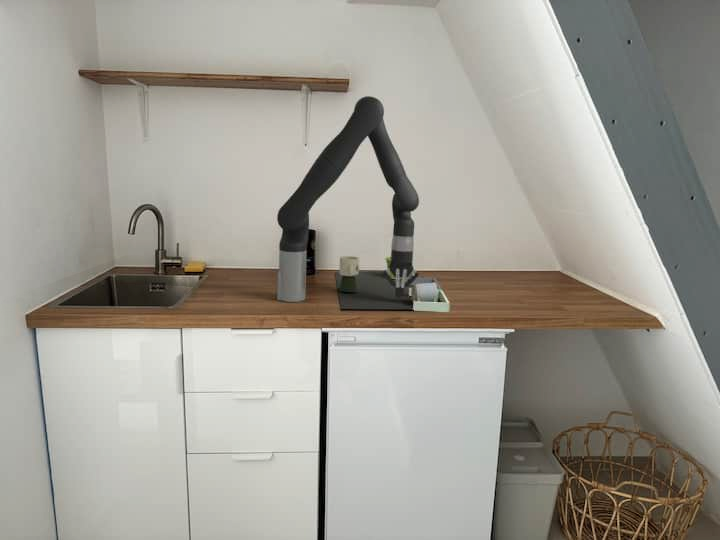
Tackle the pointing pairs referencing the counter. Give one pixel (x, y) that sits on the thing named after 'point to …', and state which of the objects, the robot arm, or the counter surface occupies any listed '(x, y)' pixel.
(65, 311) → the counter surface
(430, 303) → the corral green
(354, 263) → the character mug
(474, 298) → the counter surface
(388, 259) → the plant pot
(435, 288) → the ceramic mug
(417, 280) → the corral charcoal
